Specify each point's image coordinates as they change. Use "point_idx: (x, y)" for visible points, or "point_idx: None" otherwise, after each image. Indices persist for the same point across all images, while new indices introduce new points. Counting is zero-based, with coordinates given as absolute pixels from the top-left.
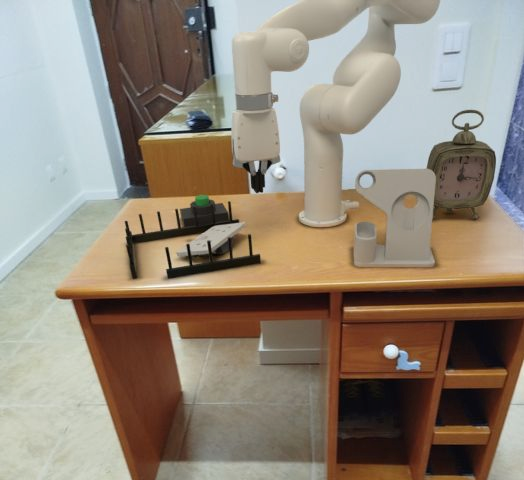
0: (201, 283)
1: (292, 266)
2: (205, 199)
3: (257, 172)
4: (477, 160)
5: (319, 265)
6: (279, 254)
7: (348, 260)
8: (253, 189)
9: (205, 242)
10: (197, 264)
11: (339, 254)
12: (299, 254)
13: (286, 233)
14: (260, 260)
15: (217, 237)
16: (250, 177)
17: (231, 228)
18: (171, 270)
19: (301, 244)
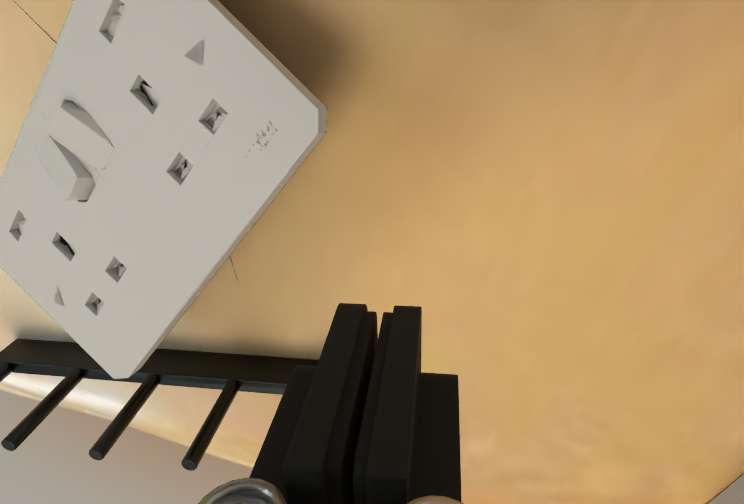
0: (143, 414)
1: (474, 436)
2: None
3: (368, 499)
4: None
5: (575, 466)
6: (462, 335)
7: (707, 479)
8: (340, 307)
9: (94, 265)
10: (101, 373)
11: (712, 430)
12: (547, 367)
13: (611, 106)
14: None
15: (148, 254)
16: (261, 453)
17: (224, 165)
18: (14, 371)
19: (612, 283)
